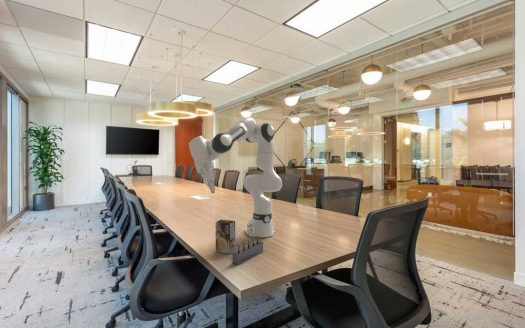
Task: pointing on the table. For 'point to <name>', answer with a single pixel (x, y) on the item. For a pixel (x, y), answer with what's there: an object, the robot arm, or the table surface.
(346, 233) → the table surface
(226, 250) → the coffee box
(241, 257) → the peg rack
